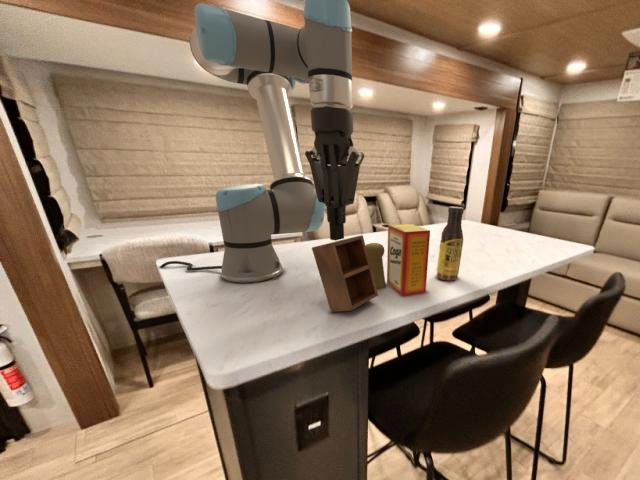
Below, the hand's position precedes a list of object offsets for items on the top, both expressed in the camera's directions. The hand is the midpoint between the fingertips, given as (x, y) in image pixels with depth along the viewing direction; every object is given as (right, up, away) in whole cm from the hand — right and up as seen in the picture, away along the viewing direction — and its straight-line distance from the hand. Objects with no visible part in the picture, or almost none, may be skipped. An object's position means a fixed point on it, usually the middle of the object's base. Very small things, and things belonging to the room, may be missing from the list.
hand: (337, 238), depth 65 cm
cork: (+6, -9, +17) cm, 20 cm away
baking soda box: (+15, -10, +16) cm, 24 cm away
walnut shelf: (-1, -7, +4) cm, 8 cm away
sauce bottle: (+27, -7, +24) cm, 37 cm away
